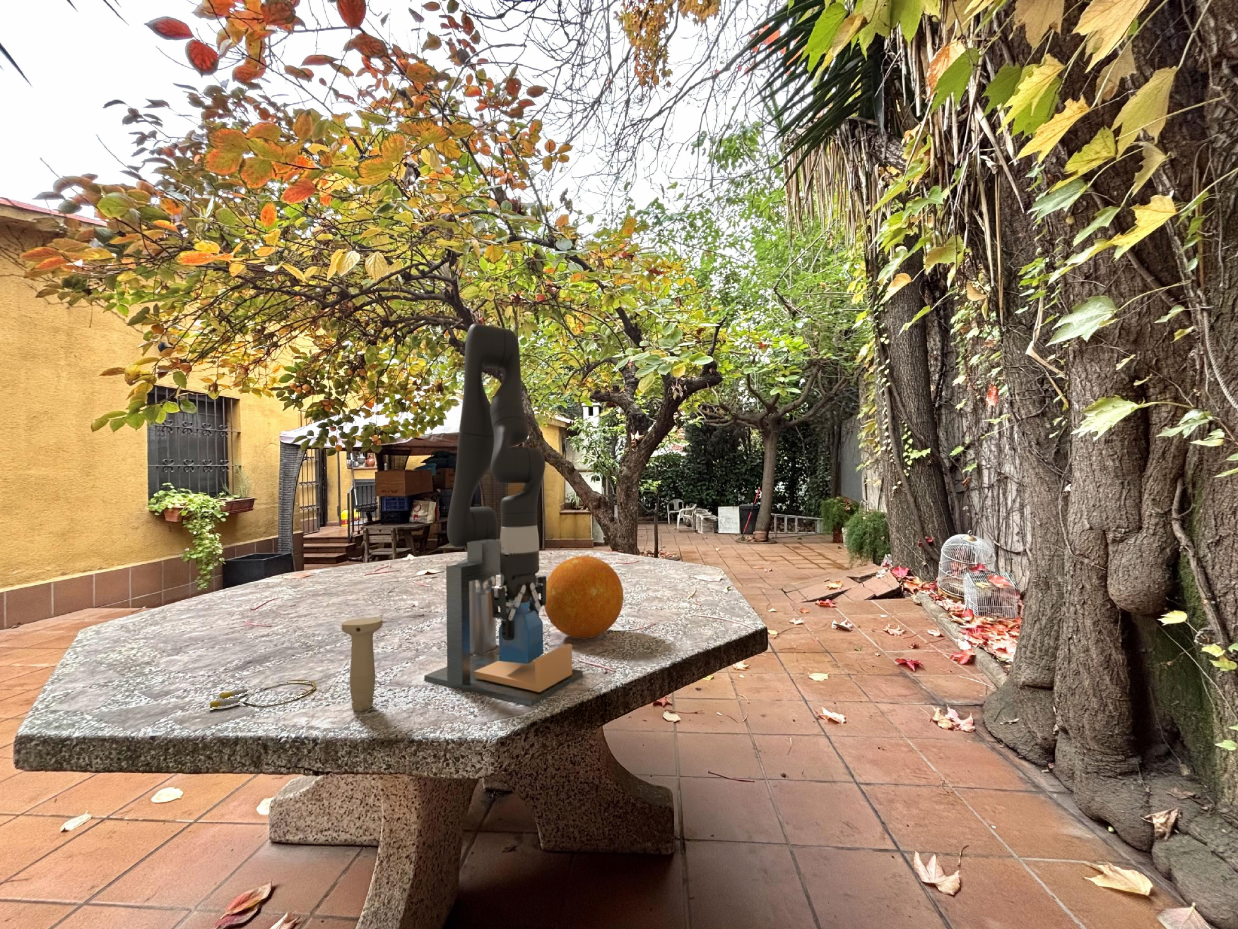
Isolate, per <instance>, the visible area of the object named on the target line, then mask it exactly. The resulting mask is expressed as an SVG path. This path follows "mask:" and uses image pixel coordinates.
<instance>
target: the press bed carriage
mask: <svg viewBox="0 0 1238 929" xmlns="http://www.w3.org/2000/svg"><path fill="white" fill-rule="evenodd" d="M572 648H573V646H572V643H566V644H564V645H561V646H560V647H557V648H555V649H553V650H552V651H549V652H547V653H545V654H544V653H543V654H542V655H541V656H539V657H538V658H536V659H535V660H533V661H532V662H530V663H529V664H524V663H514V662H503V661H497V662H494V663H492V664H490V665H488V666H485V667H483V668H481V669H478V670H476V671H474V678H478V679H483V680H487V681H492V682H496V683H501V684H505V685H510V686H514V687H519V688H523V689H528V690H532V691H537V692H541V691H543V690H545V689H546V688H548V687H550V686H552V685H554V684H555V683H557V682H559V681H561V680H563V679H564V678H566V677H568V676H570V675H571V674H572V669H573V653H572V652H573V650H572Z"/></svg>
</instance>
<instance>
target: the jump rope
mask: <svg viewBox="0 0 1238 929" xmlns="http://www.w3.org/2000/svg"><path fill="white" fill-rule="evenodd" d="M288 681H298V682H303V681H309V682H308V683H310V682H311V684H312V683H313V684H314V687H313V686H312V688H311V689H308V690H307V691H304V692H302V693H300V694H298V695H295V696H292V697H290V698H294V697H296V696H300V695H304V694H306V693H308V692H309V691H312V690H313V689H314V688H315V687H316V686H317V683H315V681H312V680H309V679H291V680H290V679H289V680H288ZM279 682H280V681H279ZM279 682H276V683H279ZM281 682H283V681H281ZM316 688H317V687H316ZM316 688H315V689H316ZM252 689H253V688H251V689H250V690H252ZM248 690H249V689H248V688H240V689H234V690H230V691H227V692H220V694H219V697H220V698H222V699H221V700H220V699H219V700H214V701H213V700H212V701H210V704H209V709H210V708H212V707H218V706H226V705H231V704H234V703H238V702H242V701H241V700H240V698H229V699H225V698H228V697H230V696H235V695H239V694H241V693H245V692H247V691H248ZM313 691H314V690H313ZM313 691H312V692H313ZM286 699H287V698H286ZM286 699H284V700H286ZM294 699H295V698H294Z"/></svg>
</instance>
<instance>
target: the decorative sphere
mask: <svg viewBox="0 0 1238 929" xmlns="http://www.w3.org/2000/svg"><path fill="white" fill-rule="evenodd" d="M623 606H624V589H623V585H622V582H621V580H620V577H619V575H618V574H617V572H616V570H614V569H613V567H612V566H611V565H609V564H608V563H607V562H606V561H604V560H602V559H600V558H597V557H594V556H588V555H581V556H574V557H571V558H568V559H566V560H564V561H562V562H561V563H559V564H558V565H557V566H556V567H555V568H554V569H553V570H552V572H551V573H550V574H549V576H548V578H547V583H546V605H545V606H543V608H544V610H545V613H546V616H547V617H548V620H549V621H550V623H551V624H552V626H554V627H555V628H556V629H557V630H558V631H560V632H561V633H562V634H565V635H566V636H569V637H571V638H575V639H590V638H591V639H592V638H595V637H598V636H600V635H602V634H603V633H605V632H607V631H608V630H609V629H610V628H611V627H612V626H613V625H614V624H615V623H616V622H617V620H618V618H619V616H620V614H621V612H622V609H623Z"/></svg>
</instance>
